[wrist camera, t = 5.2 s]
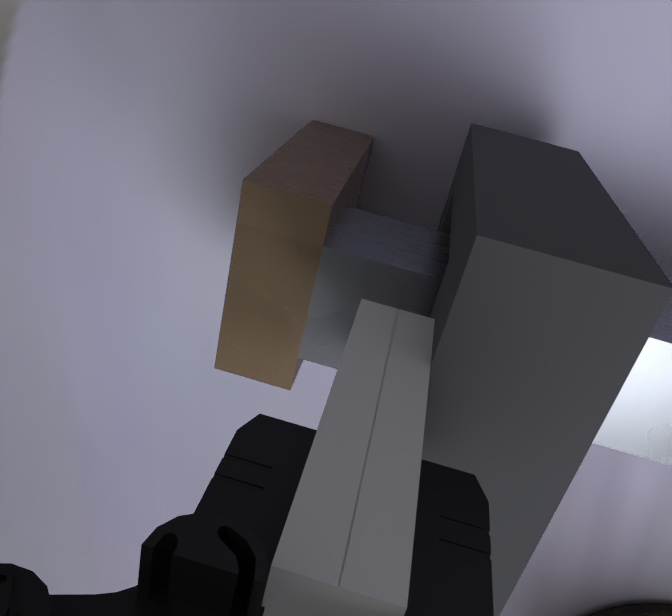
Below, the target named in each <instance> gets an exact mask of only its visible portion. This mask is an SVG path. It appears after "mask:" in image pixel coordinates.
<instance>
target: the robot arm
mask: <svg viewBox="0 0 672 616" xmlns="http://www.w3.org/2000/svg"><path fill="white" fill-rule="evenodd" d="M434 321H435V319H433V318H429V317H425V316H422V315H418V314H415V313H411V312H408V311H404V310H400V309H397V308H393V307H390V306H386V305H383V304H379V303H375V302H372V301H368V300H365V299H361V302H360V305H359V308H358V311H357V314H356V317H355V320H354V323H353V326H352V329H351V331H350V334H349V337H348V340H347V343H346V346H345V349H344V352H343V355H342V358H341V361H340V364H339V367H338V370H337V373H336V376H335V379H334V382H333V385H332V388H331V390H330V393H329V396H328V399H327V402H326V405H325V408H324V411H323V414H322V417H321V420H320V423H319V426H318V429H317V430H314V429H310V428H307V427H303V426H300V425H297V424H293V423H290V422H286V421H283V420H280V419H276V418H273V417H269V416H266V415H263V414H259V415H257V416H256V417H255V418H253V419H252V420H250V421H249V422H248V423H246V424H245V425H243V426H242V427H241V428H239V429H238V430H237V431H236V433H235V435H234V437H233V439H232V441H231V443H230V445H229V447H228V449H227V450H226V452H225V455H224V458H222V460H221V462H220V464H219V466H218V468H217V470H216V472H215V474H214V477H213V478H212V479H211V481H210V483H209V485H208V487H207V489H206V491H205V493H204V495H203V497H202V499H201V500H200V502H199V504H198V506H197V508H196V510H195V512H194V514H189V515H183V516H178V517H176V518H174V519H172V520H170V521H168V522H166V523H164V524H162V525H160V526H159V527H157V528H156V529H155V530H154V531H153V532H152V533H151V535H150V536H149V537H148V538H147V539H146V540H145V541H144V542H143V544H142V546H141V556H140V567H139V578H138V585H137V586H135V587H132V588H129V589H125V590H122V591H119V592H115V593H106V594H95V595H49V592H48V588H47V586H46V585H45V584H44V583H43V582H42V580H41V579H40V578H39V577H38V576H37V575H36V574H35V573H34V572H33V571H30V570H27V569H25V568H22V567H19V566H16V565H14V564H2V563H0V616H494V609H493V586H492V563H491V559H490V555H491V540H490V536H489V532H490V517H489V502H488V500H487V498H486V496H485V494H484V492H483V490H482V488H481V486H480V484H479V482H478V480H477V478H476V476H475V475H474V474H471V473H467V472H464V471H460V470H457V469H454V468H450V467H447V466H443V465H440V464H436V463H433V462H430V461H426V460H423V459H421V458H422V448H423V438H424V427H425V417H426V406H427V396H428V386H429V375H430V365H431V354H432V343H433V332H434Z"/></svg>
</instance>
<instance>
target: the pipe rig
mask: <svg viewBox="0 0 672 616" xmlns="http://www.w3.org/2000/svg"><path fill="white" fill-rule="evenodd" d="M373 138H374V137H373V136H369V135H365V134H361V133H358V132H354V131H350V130H346V129H343V128H339V127H335V126H331V125H328V124H324V123H320V122H316V121H313V120H312V121H311V122H309V123H308V124H307V125H306V126H305V127H304V128H302V129H301V130H300V131H299V132H298V133H297V134H296V135H294V136H293V137H292V138H291V139H290V140H289V141H287V142H286V143H285V144H284V145H283V146H282V147H280V148H279V149H278V150H277V151H276V152H275V153H273V154H272V155H271V156H270V157H269V158H268V159H266V160H265V161H264V162H263V163H262V164H261V165H260V166H258V167H257V168H256V169H255V170H254V171H253V172H251V173H250V174H249V175H248V176H247V177H246V178H244V179H243V183H242V190H241V197H240V203H239V210H238V216H237V223H236V229H235V236H234V243H233V249H232V256H231V262H230V269H229V275H228V282H227V288H226V295H225V302H224V308H223V315H222V321H221V328H220V334H219V341H218V348H217V354H216V361H215V367H214V368H216V369H219V370H223V371H226V372H229V373H233V374H236V375H240V376H243V377H246V378H250V379H253V380H257V381H260V382H264V383H267V384H270V385H274V386H277V387H281V388H284V389H287V390H291V387H292V385H293V383H294V380H295V378H296V376H297V374H298V371H299V369H300V367H301V364H302V362H303V360H307V361H311V362H314V363H318V364H321V365H325V366H328V367H332V368H335V369H338V367H339V364H340V361H341V358H342V355H343V352H344V349H345V346H346V343H347V340H348V337H349V334H350V331H351V329H352V326H353V323H354V320H355V317H356V314H357V311H358V308H359V305H360V302H361V299H365V300H368V301H372V302H375V303H379V304H383V305H386V306H390V307H393V308H397V309H400V310H404V311H408V312H411V313H415V314H418V315H422V316H425V317H429V318H430V315H431V312H432V309H433V306H434V303H435V300H436V297H437V294H438V291H439V288H440V285H441V282H442V279H443V276H444V273H445V270H446V268H447V265H448V262H449V252H450V235H451V234H447V233H444V232H440V231H436V230H433V229H429V228H425V227H422V226H418V225H414V224H411V223H407V222H404V221H400V220H396V219H393V218H389V217H385V216H382V215H378V214H374V213H371V212H367V211H363V210H360V209H356V207H357V203H358V199H359V195H360V191H361V187H362V183H363V179H364V174H365V170H366V166H367V162H368V158H369V154H370V150H371V146H372V142H373ZM592 443H594V444H597V445H601V446H604V447H608V448H611V449H615V450H618V451H622V452H625V453H629V454H632V455H635V456H639V457H642V458H646V459H649V460H653V461H656V462H660V463H663V464H667V465H670V466H672V295H671V297H670V299H669V301H668V303H667V305H666V307H665V308H664V310H663V312H662V314H661V316H660V318H659V320H658V321H657V323H656V325H655V327H654V329H653V331H652V333H651V335H650V336H649V338H648V340H647V342H646V344H645V346H644V348H643V349H642V351H641V353H640V355H639V357H638V359H637V361H636V362H635V364H634V366H633V368H632V370H631V372H630V374H629V375H628V377H627V379H626V381H625V383H624V385H623V387H622V388H621V390H620V392H619V394H618V396H617V398H616V400H615V401H614V403H613V405H612V407H611V409H610V411H609V413H608V414H607V416H606V418H605V420H604V422H603V424H602V426H601V427H600V429H599V431H598V433H597V435H596V437H595V439H594V440H593V442H592Z"/></svg>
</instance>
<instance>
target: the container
mask: <svg viewBox="0 0 672 616" xmlns="http://www.w3.org/2000/svg"><path fill="white" fill-rule="evenodd" d="M591 616H672V605H661V604H641V605H629V606H623V607H617V608H613V609H609V610H605V611H601V612H598V613H596V614H593V615H591Z"/></svg>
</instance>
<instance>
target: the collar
mask: <svg viewBox="0 0 672 616" xmlns="http://www.w3.org/2000/svg"><path fill="white" fill-rule="evenodd" d="M437 231H440V232H444V233H447V234H451V235H450V252H449V262H448V265H447V268H446V270H445V273H444V276H443V279H442V282H441V285H440V288H439V291H438V294H437V297H436V300H435V303H434V306H433V309H432V312H431V315H430V318H433V319H435V321H434V332H433V343H432V354H431V365H430V375H429V386H428V396H427V406H426V417H425V427H424V438H423V448H422V458H421V459H423V460H426V461H430V462H433V463H436V464H440V465H443V466H447V467H450V468H454V469H457V470H460V471H464V472H467V473H471V474H474V475H475V476H476V478H477V480H478V482H479V484H480V486H481V488H482V490H483V492H484V494H485V496H486V498H487V500H488V502H489V517H490V532H489V536H490V540H491V555H490V559H491V563H492V586H493V609H494V616H499V615H500V613H501V611H502V610H503V608H504V606H505V604H506V602H507V600H508V598H509V596H510V595H511V593H512V591H513V589H514V587H515V585H516V583H517V582H518V580H519V578H520V576H521V574H522V572H523V570H524V569H525V567H526V565H527V563H528V561H529V559H530V557H531V556H532V554H533V552H534V550H535V548H536V546H537V544H538V543H539V541H540V539H541V537H542V535H543V533H544V531H545V530H546V528H547V526H548V524H549V522H550V520H551V518H552V517H553V515H554V513H555V511H556V509H557V507H558V505H559V504H560V502H561V500H562V498H563V496H564V494H565V492H566V491H567V489H568V487H569V485H570V483H571V481H572V479H573V478H574V476H575V474H576V472H577V470H578V468H579V466H580V465H581V463H582V461H583V459H584V457H585V455H586V453H587V452H588V450H589V448H590V446H591V444H592V442H593V440H594V439H595V437H596V435H597V433H598V431H599V429H600V427H601V426H602V424H603V422H604V420H605V418H606V416H607V414H608V413H609V411H610V409H611V407H612V405H613V403H614V401H615V400H616V398H617V396H618V394H619V392H620V390H621V388H622V387H623V385H624V383H625V381H626V379H627V377H628V375H629V374H630V372H631V370H632V368H633V366H634V364H635V362H636V361H637V359H638V357H639V355H640V353H641V351H642V349H643V348H644V346H645V344H646V342H647V340H648V338H649V336H650V335H651V333H652V331H653V329H654V327H655V325H656V323H657V321H658V320H659V318H660V316H661V314H662V312H663V310H664V308H665V307H666V305H667V303H668V301H669V299H670V297H671V295H672V284H671V283H670V281H669V280H668V279H667V277H666V276H665V274H664V273H663V271H662V270H661V269H660V267H659V266H658V264H657V263H656V261H655V260H654V259H653V257H652V256H651V254H650V253H649V251H648V250H647V249H646V247H645V246H644V244H643V243H642V241H641V240H640V239H639V237H638V236H637V234H636V233H635V232H634V230H633V229H632V227H631V226H630V224H629V223H628V222H627V220H626V219H625V217H624V216H623V214H622V213H621V212H620V210H619V209H618V207H617V206H616V204H615V203H614V202H613V200H612V199H611V197H610V196H609V194H608V193H607V192H606V190H605V189H604V187H603V186H602V184H601V183H600V182H599V180H598V179H597V177H596V176H595V175H594V173H593V172H592V170H591V169H590V167H589V166H588V165H587V163H586V162H585V160H584V159H583V157H582V156H581V155H580V153H579V152H578V151H574V150H571V149H567V148H563V147H559V146H555V145H552V144H548V143H544V142H540V141H536V140H533V139H529V138H525V137H521V136H517V135H514V134H510V133H506V132H502V131H498V130H495V129H491V128H487V127H483V126H479V125H476V124H472V123H471V126H470V129H469V132H468V135H467V138H466V141H465V145H464V148H463V151H462V154H461V157H460V160H459V163H458V167H457V170H456V173H455V176H454V179H453V182H452V186H451V189H450V192H449V195H448V198H447V201H446V204H445V208H444V211H443V214H442V217H441V220H440V223H439V226H438V230H437Z"/></svg>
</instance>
